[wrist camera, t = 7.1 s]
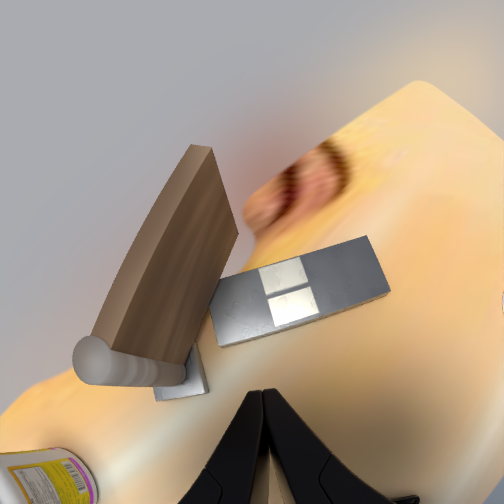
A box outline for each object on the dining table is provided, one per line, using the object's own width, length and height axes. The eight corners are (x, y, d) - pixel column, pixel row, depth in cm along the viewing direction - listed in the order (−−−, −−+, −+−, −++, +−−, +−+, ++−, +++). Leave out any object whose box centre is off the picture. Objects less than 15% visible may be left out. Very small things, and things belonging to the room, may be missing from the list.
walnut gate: (243, 235, 22) (218, 145, 13) (179, 391, 17) (100, 394, 9) (219, 228, 22) (183, 140, 14) (154, 379, 18) (66, 369, 9)
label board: (399, 331, 19) (406, 327, 17) (162, 400, 18) (154, 401, 17) (363, 242, 22) (367, 233, 21) (145, 305, 22) (137, 301, 20)
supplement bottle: (45, 486, 15) (-54, 500, 3) (48, 434, 17) (-65, 431, 6) (99, 522, 13) (0, 563, 2) (103, 469, 16) (-17, 498, 4)
